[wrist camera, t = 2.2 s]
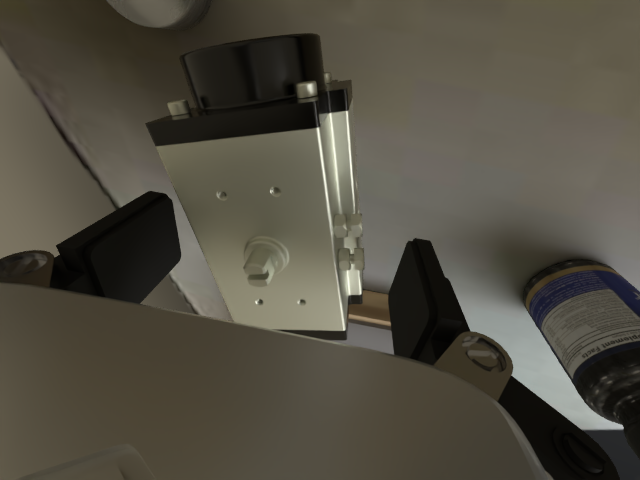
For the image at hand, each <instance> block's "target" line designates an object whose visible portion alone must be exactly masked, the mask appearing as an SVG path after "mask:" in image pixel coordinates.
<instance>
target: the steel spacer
mask: <svg viewBox="0 0 640 480" xmlns="http://www.w3.org/2000/svg"><path fill="white" fill-rule="evenodd" d="M106 1H107V2H108V3H109V4H110V5H111V6H112V7H113V8H114V9H115V10H116V11H117V12H118V13H120V14H121V15H122V16H124V17H125V18H127V19H128V20H130V21H132V22H134V23H136V24H139V25H142V26H146V27H154V28H163V29H171V30H186V29H189V28H192V27H194V26H195V25H197V24H198V23H199V22H200V21H201V20H202V19H203V18H204V16H205V15H206V13H207V11H208V9H209V7H210V4H211V1H212V0H106Z"/></svg>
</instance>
